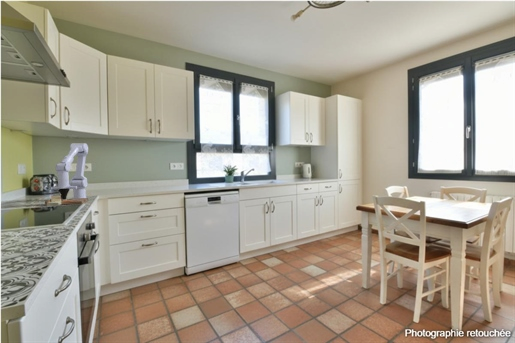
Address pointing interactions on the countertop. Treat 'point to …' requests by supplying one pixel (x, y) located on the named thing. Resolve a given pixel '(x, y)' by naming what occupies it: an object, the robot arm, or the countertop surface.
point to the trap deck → (66, 202)
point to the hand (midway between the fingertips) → (64, 199)
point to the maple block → (56, 198)
